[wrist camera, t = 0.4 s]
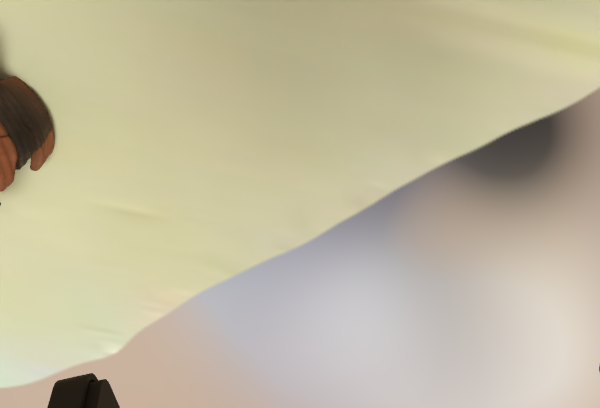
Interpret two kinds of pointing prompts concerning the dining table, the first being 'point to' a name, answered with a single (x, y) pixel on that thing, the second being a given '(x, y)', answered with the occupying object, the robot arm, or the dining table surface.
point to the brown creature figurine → (22, 130)
